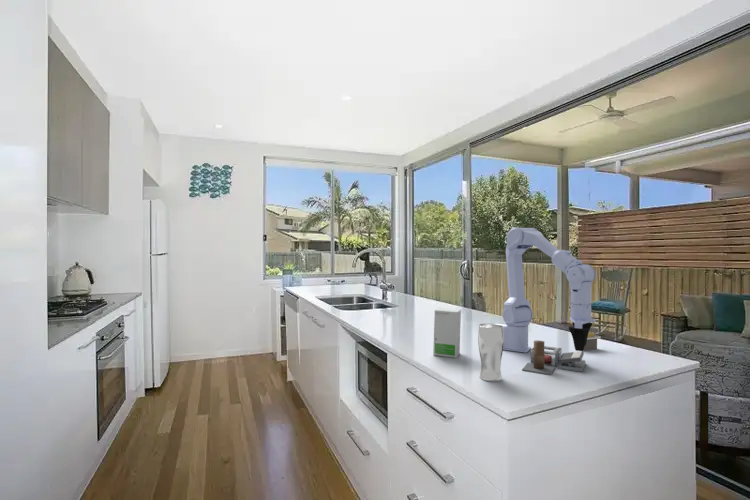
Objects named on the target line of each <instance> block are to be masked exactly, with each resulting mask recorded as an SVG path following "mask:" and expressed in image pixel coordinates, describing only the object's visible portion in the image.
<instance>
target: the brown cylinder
mask: <svg viewBox="0 0 750 500" xmlns="http://www.w3.org/2000/svg"><path fill="white" fill-rule="evenodd" d="M544 346H545V341H544V340H536V339H535V340H533V347H534V363H533V364H534V368H535V369H544V355H545V354H544V351H545V349H544Z"/></svg>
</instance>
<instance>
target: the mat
mask: <svg viewBox="0 0 750 500" xmlns="http://www.w3.org/2000/svg"><path fill="white" fill-rule="evenodd" d="M555 369H556V366H550V365H544V369H535V368H534V363H531V362H527V363H526V364H525V366H524V367H523V368H522V369H521V370H522V372H523V371H524V372H528V373H529V372H530V373H535V374H542V375H549V376H552V374H553V373H554V371H555Z"/></svg>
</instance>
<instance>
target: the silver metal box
mask: <svg viewBox="0 0 750 500" xmlns="http://www.w3.org/2000/svg"><path fill="white" fill-rule="evenodd" d="M562 351H563V350H562V348H561V347H553V346H547V345H546V346H545V345H544V355H550V356H555V357H554V358H552V362H544V365H547V366H554V367H556V369H559V370H564V371H565V370H567V371H573V372H579V373H583V372H584V370H585V369H584V368H585V367H586V360H583V359H582V360H581V361H578V362H567V363H560V362H559V359H560V357H561V355H562V354H563V353H562ZM530 363H533V364H534V346H533V347H531V349H530Z"/></svg>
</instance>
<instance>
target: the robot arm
mask: <svg viewBox="0 0 750 500" xmlns="http://www.w3.org/2000/svg"><path fill="white" fill-rule="evenodd" d="M533 246H534V247H536V248H537V249H538V250H540V251H541V252H542V253H544V254H545V255H547V256H548V257H550V258H551V264H553V265H554V266H555V267H556V268H558V269H559V270H560V271H561V272H562V273H564V275H565V277H566V280H567V281H568V282H569V288H570V317H569V321H570V322H572V323H571V324H572V325H569V326H568V330H569V332H570V334H571V337H572V341H573V345H574V349H575V352H579V351H583V352H584V351H585V350H584V346H586V342H587V337H588V333H589V331H590V330H591V328H592V326H593V323H595V322H596V318H592V283H593V282H594V280H595V279H596V275H597V274H596V271H595V268H593V267H592V265H591V264H586V263H585V264H584V263H583V262H582V261H583V260H580V259H577V258H575V257H574V255H572V252H571V251H570V250H565V249H559V248H557V246H555V245H554V244H553V243H551V241H550V240H549V239H547V238H546V237H545V236H543V234H542V232H541V231H539V230H538V229H537V228H535V227H517V226H515V227H514V226H513V227H512V228H511V229H510V230H509V231H508V232H507V234H506V247H505V261H506V270H507V271H506V275H507V288H508V298H507V300H506V301H505V302H504V303H503V311H502V313H501V314H502V318H503V319H502V320H503V321H504V323H502V324H501V325H502V326H503V334H504V347H503V351H511V352H519V353H525V354H526V353H528V352H529V351H531V350H532V346H529V325H530V323H531V322H532V320H533V317H534V312H533V310H532V307H531V303H530V301H529V300H528V299H527V298H526V293H525V292H526V291H525V279H524V269H523V268H524V267H523V256H522V255H523V254H524V253H525V252H526V250H528V249H530V248H532V247H533Z"/></svg>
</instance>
